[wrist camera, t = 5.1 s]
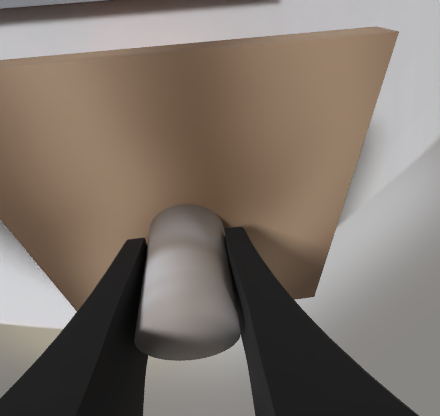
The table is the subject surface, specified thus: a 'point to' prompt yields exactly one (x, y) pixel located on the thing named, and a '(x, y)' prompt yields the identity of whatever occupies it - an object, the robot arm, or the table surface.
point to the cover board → (187, 167)
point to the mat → (37, 2)
